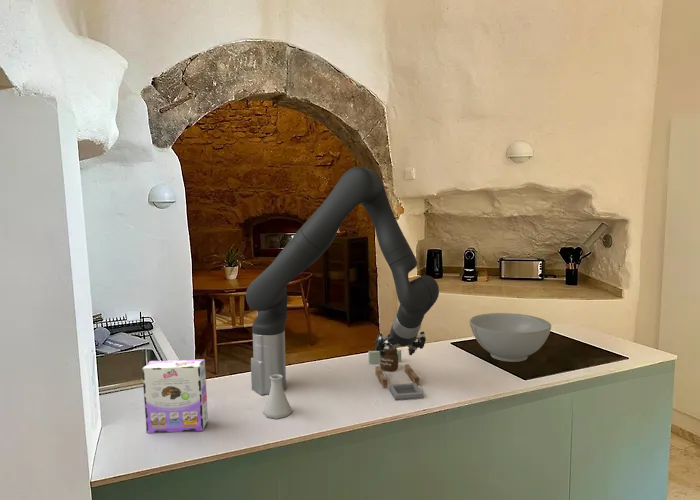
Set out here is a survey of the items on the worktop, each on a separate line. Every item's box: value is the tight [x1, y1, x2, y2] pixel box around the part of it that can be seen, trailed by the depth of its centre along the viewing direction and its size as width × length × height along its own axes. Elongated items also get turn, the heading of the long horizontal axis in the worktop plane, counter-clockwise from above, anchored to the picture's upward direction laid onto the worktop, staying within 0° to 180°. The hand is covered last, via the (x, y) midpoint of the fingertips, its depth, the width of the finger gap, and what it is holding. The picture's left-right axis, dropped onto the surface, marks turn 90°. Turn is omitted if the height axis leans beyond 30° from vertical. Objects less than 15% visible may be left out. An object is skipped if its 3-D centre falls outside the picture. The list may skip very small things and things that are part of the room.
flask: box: [262, 374, 293, 420], centre depth 132 cm, size 7×7×10 cm
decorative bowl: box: [469, 312, 552, 363], centre depth 175 cm, size 27×27×12 cm
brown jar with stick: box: [379, 334, 399, 373], centre depth 164 cm, size 6×6×12 cm
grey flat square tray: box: [388, 382, 424, 401], centre depth 144 cm, size 8×8×1 cm
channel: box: [374, 363, 420, 389], centre depth 155 cm, size 12×11×2 cm
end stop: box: [367, 348, 402, 365], centre depth 170 cm, size 2×11×4 cm, turn 98°
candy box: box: [141, 358, 209, 434], centre depth 124 cm, size 14×6×16 cm, turn 92°
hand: (396, 353), depth 153 cm, fingers open, 8 cm apart
